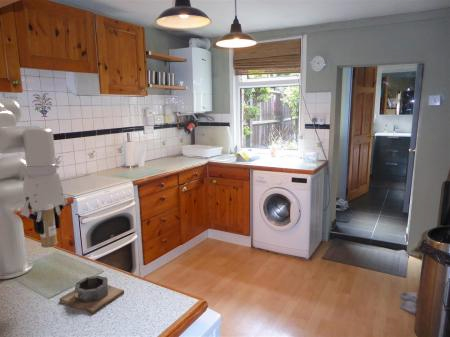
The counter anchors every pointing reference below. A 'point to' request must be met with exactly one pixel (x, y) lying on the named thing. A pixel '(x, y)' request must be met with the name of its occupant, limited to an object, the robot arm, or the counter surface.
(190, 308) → the counter surface
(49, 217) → the sprinkles bottle
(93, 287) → the socket
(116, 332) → the counter surface
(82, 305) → the walnut board
